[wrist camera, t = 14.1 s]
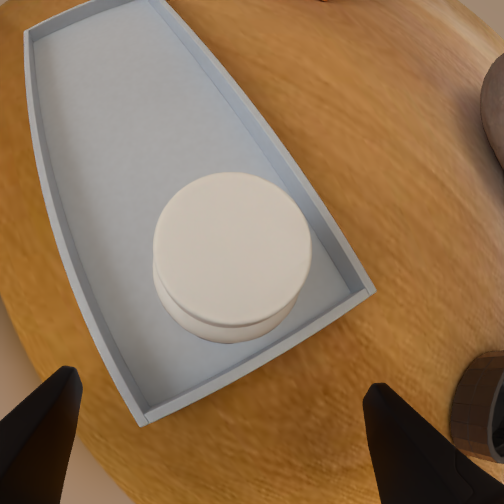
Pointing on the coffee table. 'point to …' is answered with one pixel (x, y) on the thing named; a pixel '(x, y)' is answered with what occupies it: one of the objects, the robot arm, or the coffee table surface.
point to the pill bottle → (230, 256)
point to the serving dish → (158, 191)
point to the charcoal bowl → (480, 409)
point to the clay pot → (494, 107)
